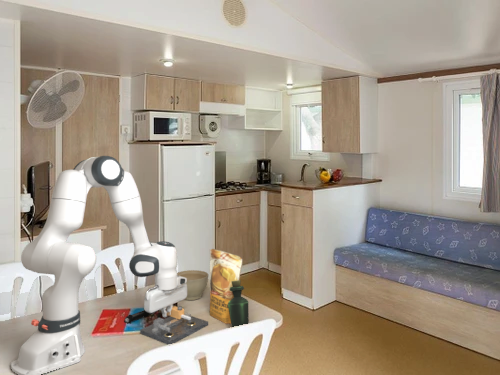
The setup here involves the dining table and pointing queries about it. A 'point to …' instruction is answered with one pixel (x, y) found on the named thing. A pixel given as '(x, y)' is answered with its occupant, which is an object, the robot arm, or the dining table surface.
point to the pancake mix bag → (222, 282)
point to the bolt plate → (173, 328)
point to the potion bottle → (238, 305)
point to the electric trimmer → (137, 316)
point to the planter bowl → (194, 283)
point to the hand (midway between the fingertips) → (166, 316)
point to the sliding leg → (179, 313)
